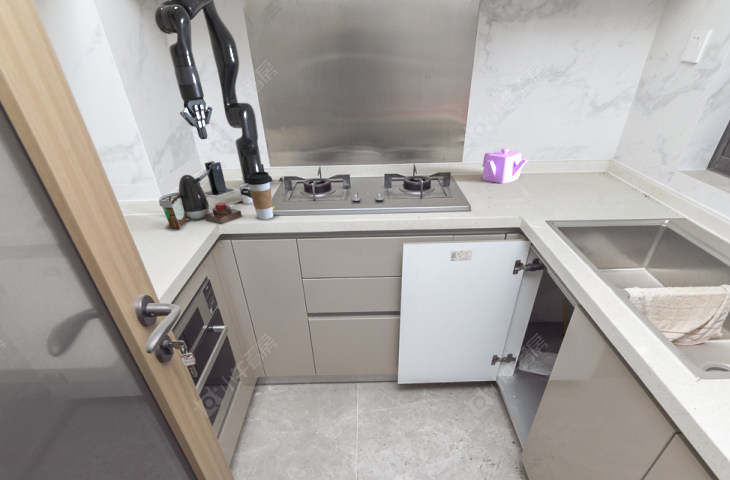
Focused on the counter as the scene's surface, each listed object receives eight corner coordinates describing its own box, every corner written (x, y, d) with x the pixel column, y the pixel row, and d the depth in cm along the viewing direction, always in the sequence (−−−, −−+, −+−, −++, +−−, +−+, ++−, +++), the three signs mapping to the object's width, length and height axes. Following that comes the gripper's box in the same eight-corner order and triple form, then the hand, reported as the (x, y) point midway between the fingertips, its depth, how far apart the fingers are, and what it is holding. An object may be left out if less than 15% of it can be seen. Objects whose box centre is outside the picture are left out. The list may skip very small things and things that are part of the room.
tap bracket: (217, 198, 183) (209, 165, 175) (205, 195, 187) (196, 164, 179) (234, 192, 190) (227, 161, 182) (222, 190, 193) (215, 159, 185)
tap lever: (198, 187, 176) (195, 182, 174) (191, 186, 178) (188, 181, 176) (220, 168, 182) (218, 163, 180) (213, 167, 184) (210, 162, 182)
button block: (226, 213, 165) (223, 202, 163) (242, 216, 161) (239, 205, 159) (205, 220, 159) (202, 209, 157) (221, 224, 155) (218, 213, 152)
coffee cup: (280, 214, 162) (273, 171, 153) (269, 221, 156) (261, 177, 147) (261, 212, 164) (253, 170, 155) (249, 219, 158) (240, 176, 149)
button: (222, 206, 160) (220, 202, 159) (228, 208, 158) (227, 203, 157) (214, 209, 158) (213, 204, 157) (221, 210, 156) (219, 205, 155)
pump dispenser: (202, 222, 157) (190, 178, 148) (178, 220, 160) (165, 177, 150) (217, 213, 165) (206, 171, 156) (194, 212, 167) (182, 171, 158)
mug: (240, 204, 174) (237, 187, 170) (245, 200, 179) (241, 183, 175) (264, 204, 173) (261, 187, 169) (268, 199, 178) (265, 182, 174)
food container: (173, 220, 161) (164, 192, 155) (189, 219, 161) (181, 191, 155) (161, 231, 151) (152, 202, 145) (179, 230, 151) (169, 201, 145)
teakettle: (515, 174, 197) (519, 144, 190) (524, 183, 184) (530, 151, 176) (478, 175, 198) (481, 145, 190) (485, 184, 184) (489, 153, 177)
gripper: (197, 80, 151) (211, 135, 162) (165, 84, 142) (182, 141, 153) (211, 80, 147) (224, 136, 158) (180, 84, 139) (196, 143, 150)
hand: (203, 138), depth 156 cm, fingers closed
